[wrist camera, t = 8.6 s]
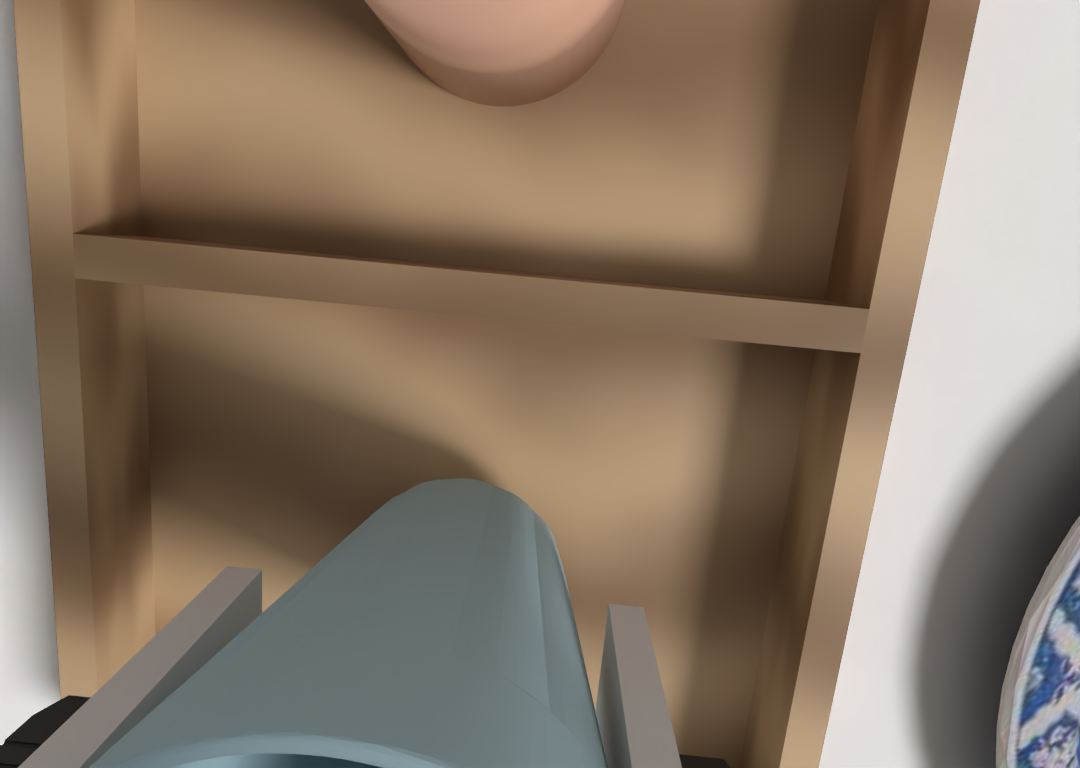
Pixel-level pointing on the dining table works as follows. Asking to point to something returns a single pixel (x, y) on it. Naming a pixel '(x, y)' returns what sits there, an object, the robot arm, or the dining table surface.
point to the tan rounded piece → (501, 43)
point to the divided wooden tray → (487, 314)
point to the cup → (398, 654)
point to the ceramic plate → (1045, 672)
